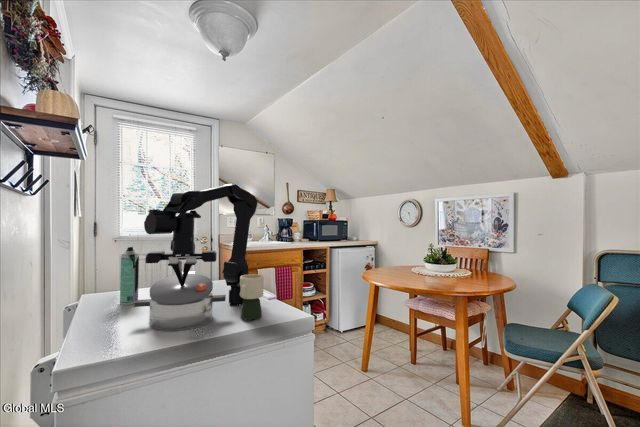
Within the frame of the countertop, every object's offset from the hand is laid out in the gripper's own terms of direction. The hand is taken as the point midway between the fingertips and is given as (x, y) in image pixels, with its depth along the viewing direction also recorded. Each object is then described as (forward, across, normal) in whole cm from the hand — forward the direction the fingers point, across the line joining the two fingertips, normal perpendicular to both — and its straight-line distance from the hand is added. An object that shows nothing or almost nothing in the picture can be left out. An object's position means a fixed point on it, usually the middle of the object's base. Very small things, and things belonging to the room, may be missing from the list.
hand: (182, 285), depth 89 cm
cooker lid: (+1, 0, -1) cm, 2 cm away
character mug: (+11, -20, +2) cm, 23 cm away
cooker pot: (+10, 0, 0) cm, 11 cm away
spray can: (+11, +21, -25) cm, 35 cm away
